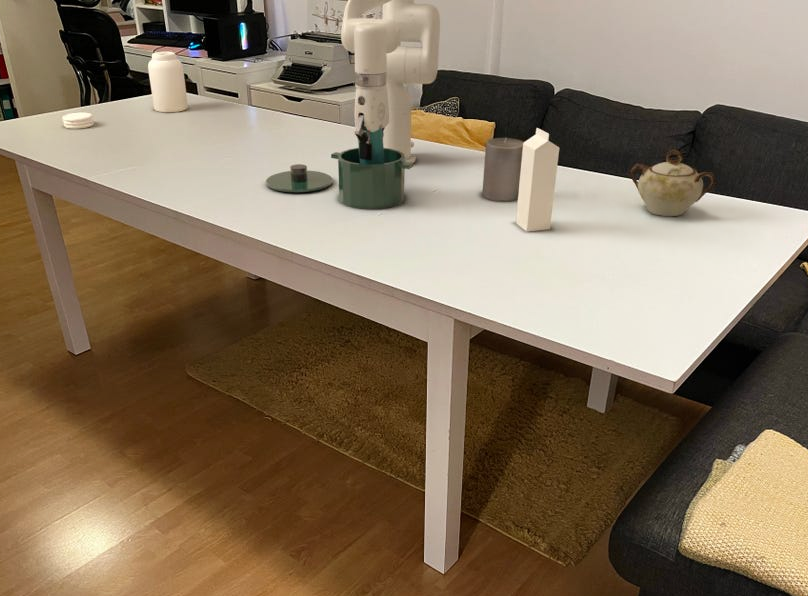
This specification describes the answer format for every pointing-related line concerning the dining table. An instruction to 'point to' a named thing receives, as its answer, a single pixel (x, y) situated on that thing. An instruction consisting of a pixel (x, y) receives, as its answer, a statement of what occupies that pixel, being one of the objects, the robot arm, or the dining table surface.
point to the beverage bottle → (375, 148)
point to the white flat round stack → (78, 120)
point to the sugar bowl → (670, 186)
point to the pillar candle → (502, 169)
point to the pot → (371, 179)
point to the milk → (537, 182)
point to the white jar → (167, 82)
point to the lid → (299, 180)
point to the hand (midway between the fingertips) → (371, 155)
